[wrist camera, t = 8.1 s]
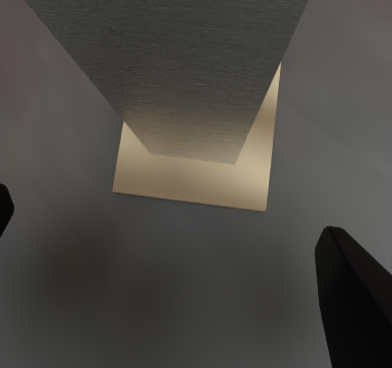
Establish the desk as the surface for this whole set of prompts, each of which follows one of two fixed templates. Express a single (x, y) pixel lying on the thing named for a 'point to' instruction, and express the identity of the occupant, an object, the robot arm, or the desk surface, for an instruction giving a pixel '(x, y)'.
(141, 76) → the grey tall block
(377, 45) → the desk surface
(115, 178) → the stand
